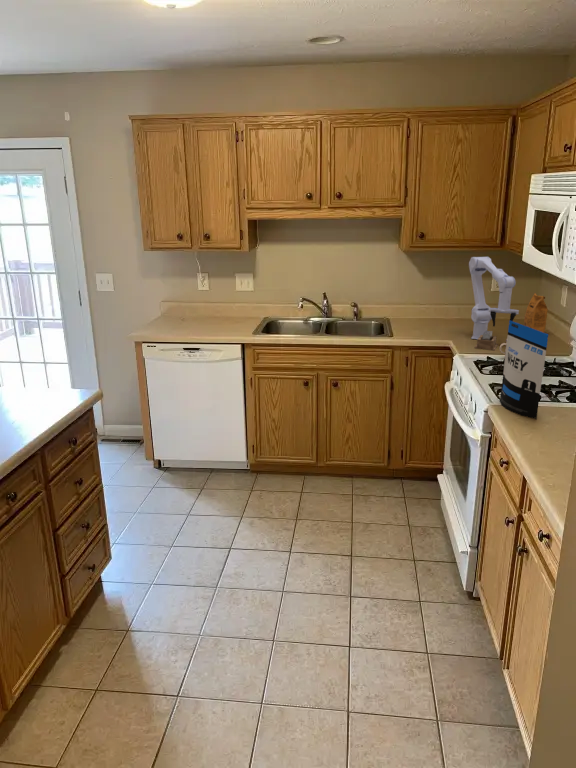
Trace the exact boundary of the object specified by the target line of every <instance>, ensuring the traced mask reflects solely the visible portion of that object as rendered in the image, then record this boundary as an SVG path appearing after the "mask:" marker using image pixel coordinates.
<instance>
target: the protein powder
mask: <svg viewBox="0 0 576 768" xmlns="http://www.w3.org/2000/svg"><path fill="white" fill-rule="evenodd" d="M507 329H508V330H507V336H506V340H507V341H506V342H507V345H505V350H506V354H504V364H503V373H502V381H501V389H500V399H499V404H500V405H501V406H502V407H503V408H504V409H506V410H507V411H510V412H511V413H514V414H517V415H519V416H522V417H527V418H530V419H534V420H537V418H538V411H539V404H540V403H539V402H540V395H541V394H540V393H541V388H542V382H543V376H544V368H545V363H546V354H547V348H548V338H549V334H548V333H545V332H544V333H543V332H540V331H538V330H535V329H532V328H530V327H527V326H524V324H520V323H519V322H515V321H514V320H513V321H510V319H509V321H508V328H507Z"/></svg>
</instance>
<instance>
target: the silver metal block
mask: <svg viewBox="0 0 576 768" xmlns="http://www.w3.org/2000/svg"><path fill="white" fill-rule="evenodd" d="M492 336H493V330H487V331H485V332H484V333H483V339H482V340H490V341H491V339H492Z"/></svg>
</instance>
